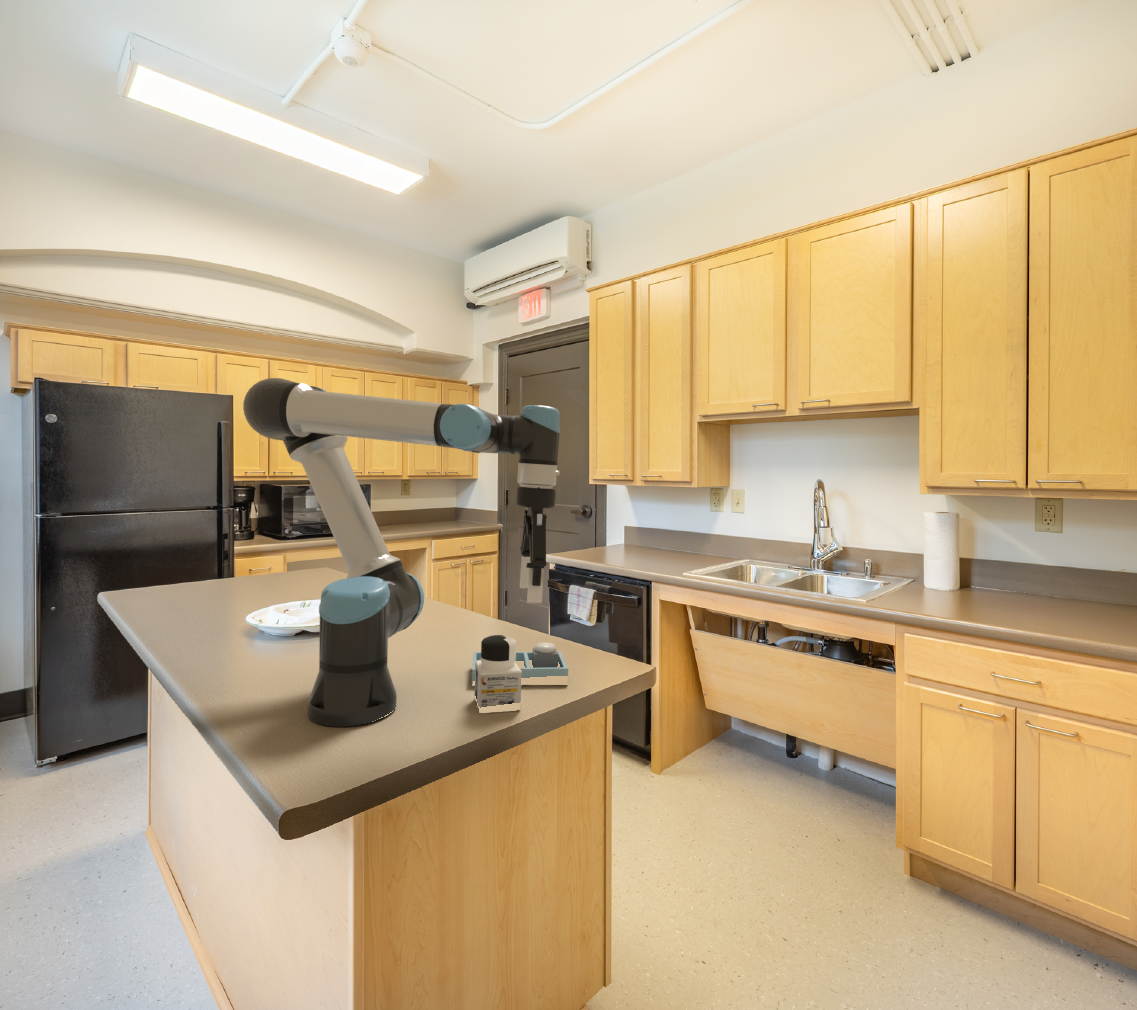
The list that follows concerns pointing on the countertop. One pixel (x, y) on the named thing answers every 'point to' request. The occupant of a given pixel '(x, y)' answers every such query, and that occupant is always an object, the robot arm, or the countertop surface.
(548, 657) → the tray
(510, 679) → the container
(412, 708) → the countertop surface
